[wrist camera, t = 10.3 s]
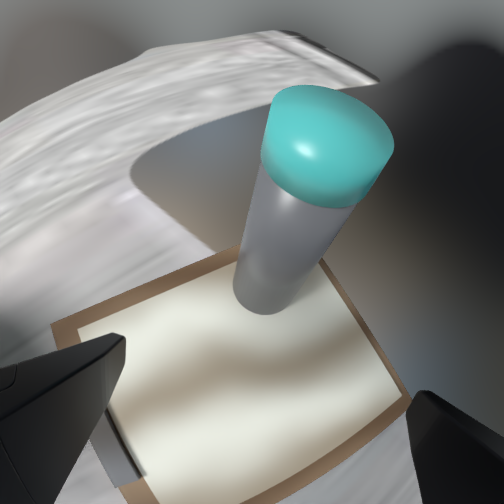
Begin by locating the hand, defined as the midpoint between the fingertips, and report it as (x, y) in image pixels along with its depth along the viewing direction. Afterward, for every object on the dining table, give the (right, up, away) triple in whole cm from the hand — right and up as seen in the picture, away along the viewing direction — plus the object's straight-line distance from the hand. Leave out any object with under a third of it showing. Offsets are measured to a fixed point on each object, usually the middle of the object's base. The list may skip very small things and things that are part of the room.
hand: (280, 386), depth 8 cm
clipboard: (-2, -4, +10) cm, 11 cm away
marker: (0, +2, +12) cm, 12 cm away
